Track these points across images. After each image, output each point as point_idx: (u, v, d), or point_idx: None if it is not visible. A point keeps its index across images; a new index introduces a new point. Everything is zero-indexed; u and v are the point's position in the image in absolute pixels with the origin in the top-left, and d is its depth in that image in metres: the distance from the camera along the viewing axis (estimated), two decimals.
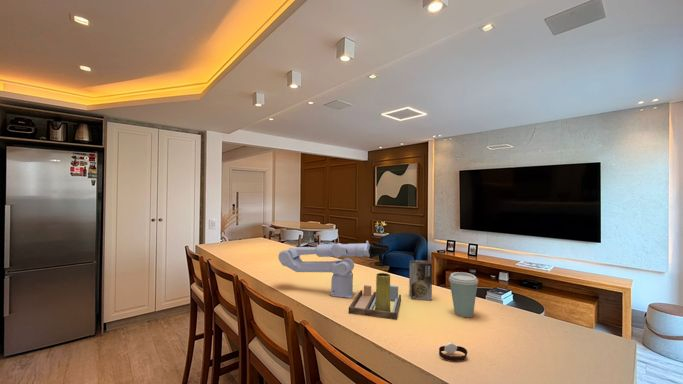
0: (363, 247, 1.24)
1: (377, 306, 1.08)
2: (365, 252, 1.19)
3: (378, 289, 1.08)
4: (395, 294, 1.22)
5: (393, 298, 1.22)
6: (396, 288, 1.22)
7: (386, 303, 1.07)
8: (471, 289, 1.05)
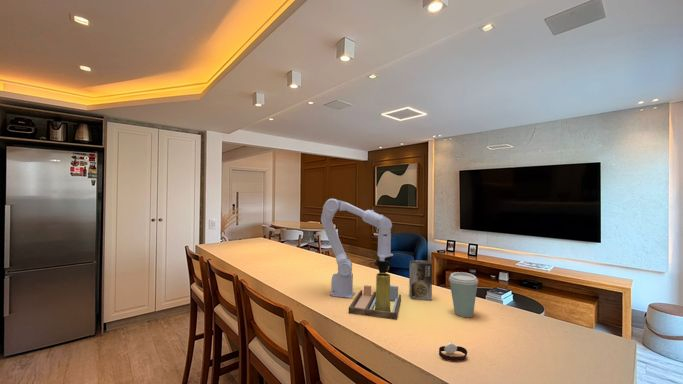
0: (386, 252, 1.25)
1: (377, 306, 1.08)
2: (382, 258, 1.21)
3: (378, 289, 1.08)
4: (395, 294, 1.22)
5: (393, 298, 1.22)
6: (396, 288, 1.22)
7: (386, 303, 1.07)
8: (471, 289, 1.05)
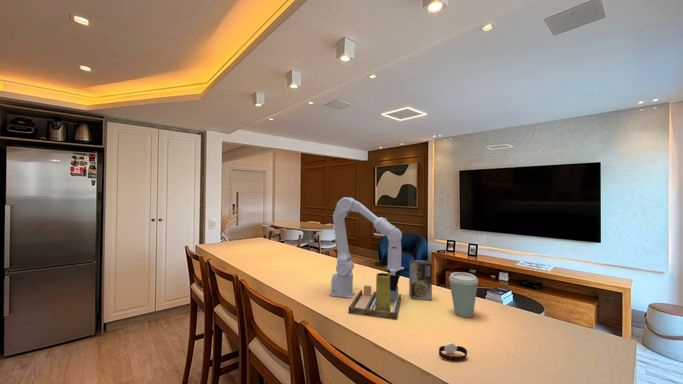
0: (397, 265, 1.20)
1: (377, 306, 1.08)
2: (392, 272, 1.16)
3: (378, 289, 1.08)
4: (395, 294, 1.22)
5: (393, 298, 1.22)
6: (396, 288, 1.22)
7: (386, 303, 1.07)
8: (471, 289, 1.05)
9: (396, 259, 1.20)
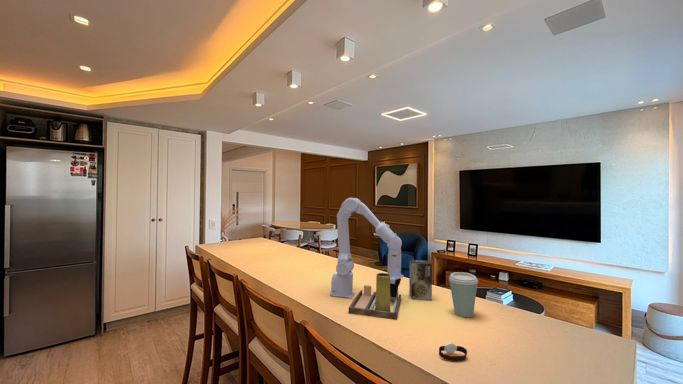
0: (397, 273, 1.20)
1: (377, 306, 1.08)
2: (392, 280, 1.16)
3: (378, 289, 1.08)
4: None
5: (393, 298, 1.22)
6: None
7: (386, 303, 1.07)
8: (471, 289, 1.05)
9: (396, 267, 1.20)
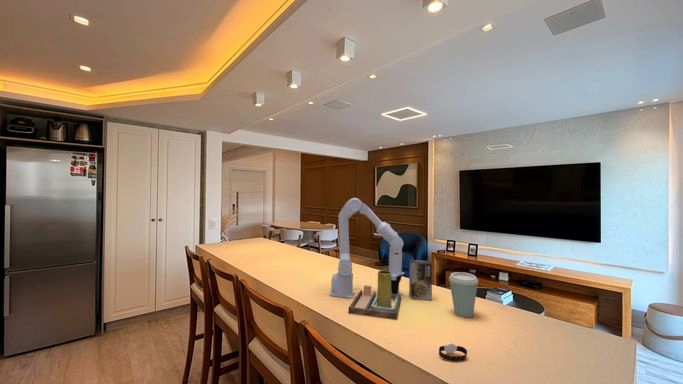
0: (398, 271, 1.25)
1: (379, 302, 1.12)
2: (393, 277, 1.21)
3: (379, 286, 1.12)
4: None
5: (394, 295, 1.26)
6: None
7: (388, 299, 1.11)
8: (471, 289, 1.05)
9: (397, 264, 1.25)
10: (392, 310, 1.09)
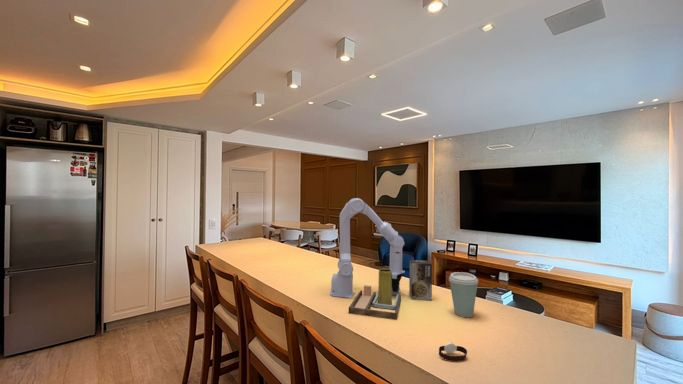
0: (398, 269, 1.28)
1: (380, 300, 1.15)
2: (394, 275, 1.24)
3: (380, 284, 1.15)
4: None
5: (395, 292, 1.29)
6: None
7: (388, 297, 1.14)
8: (471, 289, 1.05)
9: (397, 263, 1.28)
10: (393, 307, 1.12)
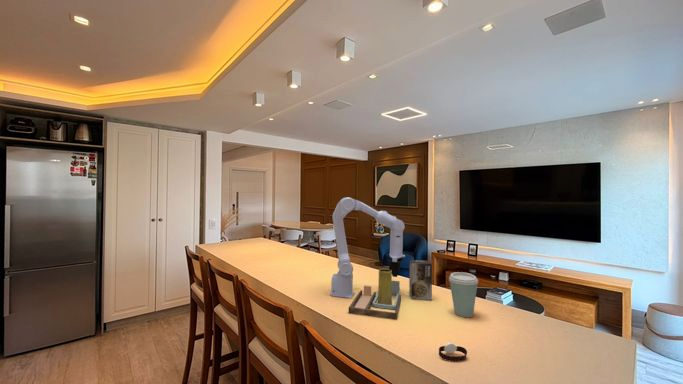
0: (398, 253, 1.28)
1: (380, 300, 1.15)
2: (394, 259, 1.24)
3: (380, 284, 1.15)
4: (396, 289, 1.29)
5: (395, 292, 1.29)
6: (397, 283, 1.29)
7: (388, 297, 1.14)
8: (471, 289, 1.05)
9: (398, 247, 1.28)
10: (393, 307, 1.12)
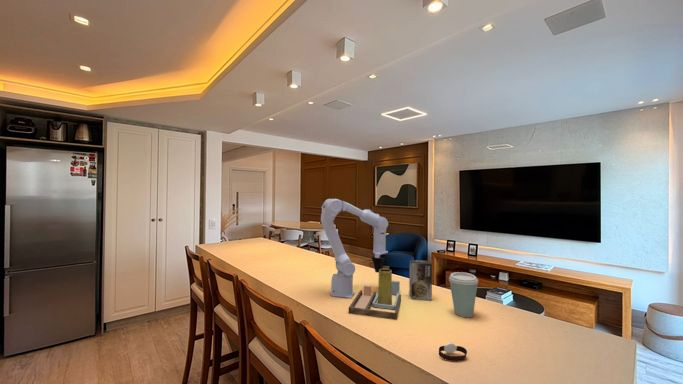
0: (381, 249, 1.32)
1: (380, 300, 1.15)
2: (377, 255, 1.28)
3: (380, 284, 1.15)
4: (396, 289, 1.29)
5: (395, 292, 1.29)
6: (397, 283, 1.29)
7: (388, 297, 1.14)
8: (471, 289, 1.05)
9: (381, 244, 1.32)
10: (393, 307, 1.12)
